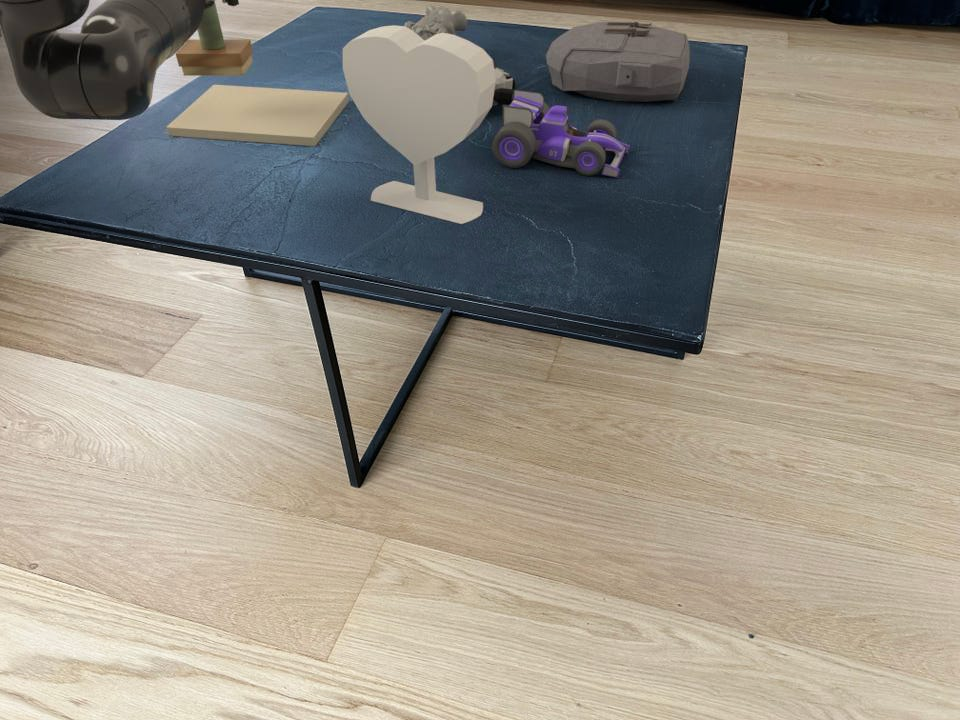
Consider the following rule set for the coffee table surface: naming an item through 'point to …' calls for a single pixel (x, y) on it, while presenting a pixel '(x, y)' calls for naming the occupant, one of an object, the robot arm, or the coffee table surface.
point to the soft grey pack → (620, 61)
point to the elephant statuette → (438, 22)
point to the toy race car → (554, 138)
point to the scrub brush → (214, 50)
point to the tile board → (260, 115)
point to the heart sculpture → (420, 107)
